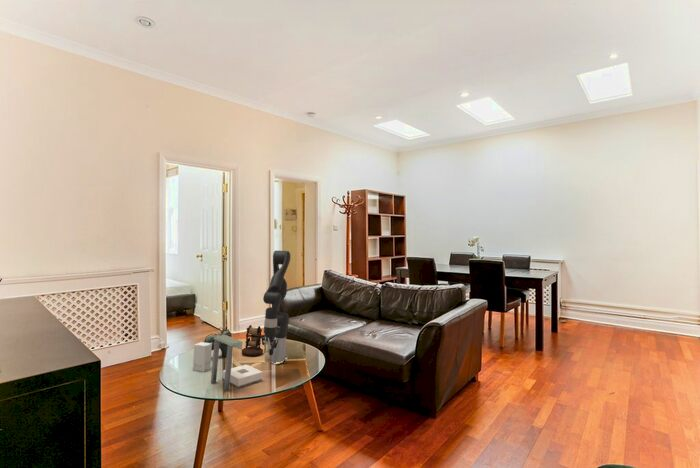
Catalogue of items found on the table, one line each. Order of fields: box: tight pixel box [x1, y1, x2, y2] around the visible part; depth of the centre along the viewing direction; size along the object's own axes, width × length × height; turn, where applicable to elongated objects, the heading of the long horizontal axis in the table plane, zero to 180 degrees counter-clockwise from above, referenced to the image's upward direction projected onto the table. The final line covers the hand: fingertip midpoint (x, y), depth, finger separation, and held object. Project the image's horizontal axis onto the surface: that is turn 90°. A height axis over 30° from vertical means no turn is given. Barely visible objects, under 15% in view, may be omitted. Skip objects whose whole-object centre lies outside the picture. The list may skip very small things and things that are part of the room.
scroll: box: [241, 324, 264, 357], centre depth 245 cm, size 15×15×20 cm
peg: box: [264, 341, 273, 363], centre depth 207 cm, size 4×4×12 cm
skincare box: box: [192, 341, 213, 373], centre depth 209 cm, size 8×7×16 cm
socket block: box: [221, 363, 264, 389], centre depth 198 cm, size 16×16×5 cm
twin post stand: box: [210, 335, 243, 392], centre depth 189 cm, size 7×17×25 cm, turn 52°
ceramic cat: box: [203, 327, 233, 358], centre depth 230 cm, size 20×6×20 cm, turn 139°
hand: (268, 353), depth 207 cm, fingers closed on peg, 4 cm apart
